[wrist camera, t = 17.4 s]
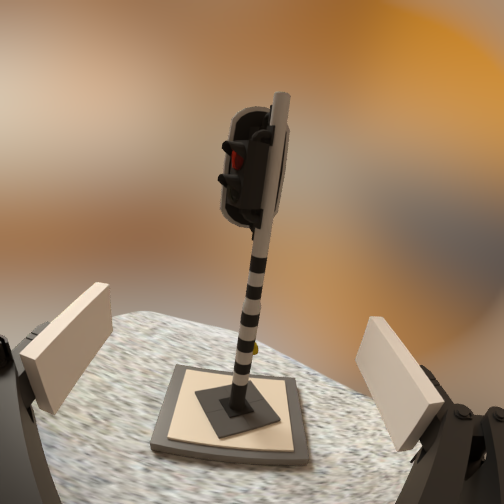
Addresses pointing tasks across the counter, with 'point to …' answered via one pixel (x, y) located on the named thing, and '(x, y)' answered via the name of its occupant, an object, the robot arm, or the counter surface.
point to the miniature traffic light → (260, 222)
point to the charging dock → (236, 446)
